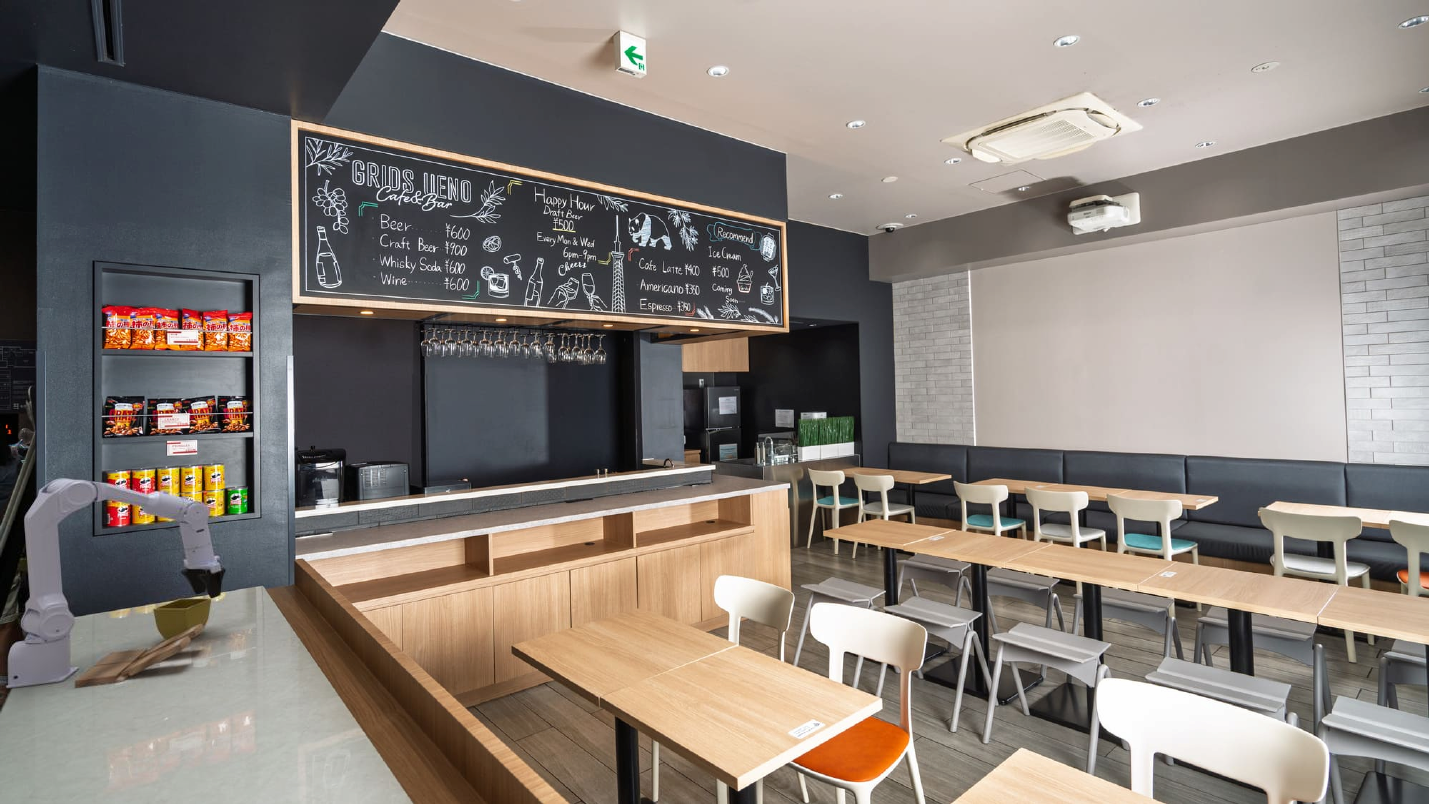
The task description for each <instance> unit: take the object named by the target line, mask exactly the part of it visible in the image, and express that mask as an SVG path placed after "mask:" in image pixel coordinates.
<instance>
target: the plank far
mask: <svg viewBox="0 0 1429 804" xmlns="http://www.w3.org/2000/svg"><path fill="white" fill-rule="evenodd" d="M204 630H205V627H203V625H202V623H201V624H199V625H197V626H195V627H193V628H191V629H189V630H187V631H185V632H183V633H181V634H179V635H177V636H175V637H173V638H171V639H169V640H166V639H165V641H162V642H160V643H159V644H157V645H155V646H152V647H151V648H148V650H147V651H146V652H145V653H144V654H143V655H141V656H140V657H139V660H141V659H143V658H145V657H147V656H149V655H151V654H153V653H155V652H157V651H159V650H161V649H163V648H165V647H167V646H169V645H171V644H173V643H175V642H177V641H179V640H181V639H183V638H185V637H187V636H188V637H189V638H190V640H192V639H194V638H196V637H197V636H198V635H200V634H201V633H202V631H204ZM200 632H201V633H200ZM199 633H200V634H199Z"/></svg>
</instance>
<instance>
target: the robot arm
mask: <svg viewBox="0 0 1429 804" xmlns="http://www.w3.org/2000/svg"><path fill="white" fill-rule="evenodd" d="M169 492H170V491H168V490H163V489H162V490H160V491H159V490H158V491H157V490H155V491H152V492H149V493H147V494H146V493H144V492H140V491H135V490H133V489H129V488H126V487H122V486H119V485H115V484H111V483H108V482H98V481H91V480H90V481H89V480H85V479H72V478H68V477H67V478H66V477H65V478H64V477H61V478H60V477H59V478H57V479H54V480H52V481H50V482H49V483H47V484H46V485H44V486H43V487H42V488H40V489H39V490H38V494H37V497H36V498H35V500H34V502H33V503H32V505H31V506H30V508H29V509H28V511H27V512H26V514H25V516H24V520H23V522H24V533H25V549H26V558H27V562H26V563H27V574H28V588H29V598H28V600H26V602H25V604H24V605H25V611H24V614H23V616H22V617H21V621H20V626H21V628H22V630H23V631H24V632H26V633H27V635H26V637H25V639H24V640H21V641H16V642H15V643H13V644H12V646H11V647H10V650H9V652H8V657H7V677H8V678H7V681H8V682H7V683H8V684H7V685H6V689H10V688H12V689H13V688H18V687H19V688H20V687H27V686H28V687H29V686H34V685H42V684H52V683H58V682H63V681H64V680H66V679H67V678H68V677H70V676H72V675H73V674H74V673H75V672H77V671H78V670H79V669H80V667H79V666H73V667H72V666H71V660H72V659H71V631H72V630H73V628H74V626H75V623H76V618H75V616H74V614H73V613H72V612H71V611H70V609H69V603H68V601H67V599H66V597H65V595H64V593H63V584H62V583H63V582H62V570H61V569H62V568H61V556H60V554H61V553H60V543H59V542H60V541H59V530H58V529H59V528H58V527H59V526H58V525H59V523H61V521H63V520H64V519H65V518H66V517H68V516H69V515H70V514H71V513H74V512H76V511H78V510H81V509H83V508H85V507H87V506H89V505H90V504H92V503H93V502H95V503H99V502H102V501H105V500H108V501H114V502H118V503H122V504H127V505H132V506H137V507H140V508H141V509H142V512H143V513H144V514H146V515H150V516H155V517H160V518H164V519H169V520H174V521H176V522H178V524H179V528H180V535H181V538H182V543H183V548H184V554H185V558H186V559H183V565H184V567H185V569H183V570H180V574H182V576H183V577H184V578H185V579H186V580H187V582H188V583H189V584H190V586H191V588H192V590H193V592H194V594H195V595H200V594H203V593H206V592H207V594H208V596H209V599H215V598H217V597H220V596H221V594H222V584H223V578H224V576H225V574H226V571H227V569H226V568H224V567H221V564H220V562H218V560H220V557H221V556H219V555H215V553H214V549H213V543H212V539H211V533H210V529H209V528H210V527H209V525H208V518H209V517H210V514H211V509H210V508H209V507H208V506H207V505H206V503H205V502H202V501H200V500H199V501H198V500H190V498H189V497H188V496H185V495H183V496H182V497H181V496H178V495H173V494H170V493H169Z"/></svg>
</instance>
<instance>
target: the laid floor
mask: <svg viewBox="0 0 1429 804" xmlns="http://www.w3.org/2000/svg"><path fill="white" fill-rule="evenodd" d="M148 649H149V648H148V647H146V648H140V649H139V648H138V649H132V650H131V649H130V650H121V651H115V652H110V653H109V654H108V655H106V656H105V657H104V658H103V659H100V661H98V662H97V663H95V665H93V666H92V667H91V668H89V669H88V670H87V671H86V672H84V673H83V674H82V675H80V676H79V677H78V678H77V679H75V680H74V688H75V689H76V688H78V689H79V688H84V687H92V685H93V686H99V685H98V684H100V685H107V684H106V683H108V684H113V683H112V682H116V683H120V682H119V681H123V682H124V681H125V680H126V679H127V678H129V677H130V676H129V674H128V673H127V674H125V675H123V676H122V675H121V673H122V672H123V671H124V670H125V669H126V668H128V667H129V666H130V665H131V664H133V663H135V662H137V661H139V657H140V656H141V655H143V654H144V653H145V652H146V651H147V650H148ZM128 676H129V677H128Z"/></svg>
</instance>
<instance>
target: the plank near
mask: <svg viewBox="0 0 1429 804" xmlns="http://www.w3.org/2000/svg"><path fill="white" fill-rule="evenodd" d="M191 643H192V639H190V638H189V637H188V636H187V637H185V638H183V639H181V640H179V641H177V642H175V643H173V644H171V645H169V646H167V647H165V648H163V649H161V650H159V651H157V652H155V653H153V654H151V655H149V656H147V657H145V658H143V659H141V660H139V661H137V662H135V663H133V664H131V665H130V666H129V667H128V668H126V669H125V670H124V671H123V672H122V673H121V675H122V676H123V675H125V674H127V673H128V674H129V675H130V676H129V677H132V676H133V675H135V674H138V673H140V672H142V671H144V670H145V669H148V668H149V667H152V666H154V665H155V664H158V663H159V662H161V661H164V660H165V659H168V658H169V657H172V656H174V655H175V654H177V653H179V652H182V651H183V650H185V648H186V647H187V646H188V645H189V644H191Z"/></svg>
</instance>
